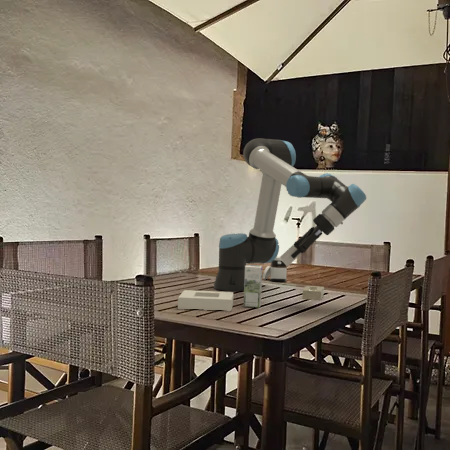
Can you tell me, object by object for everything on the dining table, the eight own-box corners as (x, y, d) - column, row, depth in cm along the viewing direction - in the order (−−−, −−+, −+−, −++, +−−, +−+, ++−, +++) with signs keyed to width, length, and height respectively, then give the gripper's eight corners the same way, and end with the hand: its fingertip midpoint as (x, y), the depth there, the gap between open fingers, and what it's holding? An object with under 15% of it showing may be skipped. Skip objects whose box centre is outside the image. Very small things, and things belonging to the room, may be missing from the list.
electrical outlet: (324, 284, 228) (321, 290, 211) (323, 294, 228) (320, 301, 211) (306, 283, 230) (302, 289, 212) (306, 293, 230) (302, 300, 212)
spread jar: (287, 283, 256) (288, 258, 256) (263, 282, 256) (263, 257, 256) (284, 279, 268) (285, 255, 268) (261, 278, 268) (262, 255, 268)
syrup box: (261, 305, 196) (262, 265, 195) (259, 308, 190) (260, 266, 189) (245, 304, 197) (247, 264, 196) (243, 307, 191) (244, 265, 190)
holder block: (177, 309, 183) (178, 297, 183) (183, 301, 199) (184, 290, 199) (231, 311, 182) (231, 299, 182) (233, 303, 198) (233, 292, 198)
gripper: (341, 229, 178) (293, 273, 179) (330, 227, 203) (288, 265, 204) (325, 213, 178) (277, 257, 180) (316, 212, 203) (274, 251, 204)
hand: (283, 261), depth 192 cm, fingers open, 13 cm apart
